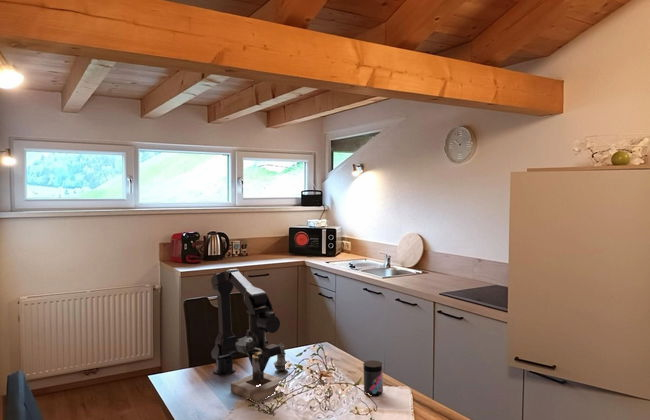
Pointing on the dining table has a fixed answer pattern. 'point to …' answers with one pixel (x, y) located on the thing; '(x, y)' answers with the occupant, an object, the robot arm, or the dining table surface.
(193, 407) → the dining table surface
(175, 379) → the dining table surface
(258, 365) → the battery cell
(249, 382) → the holder block
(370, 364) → the supplement container
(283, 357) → the weathered candle holder
